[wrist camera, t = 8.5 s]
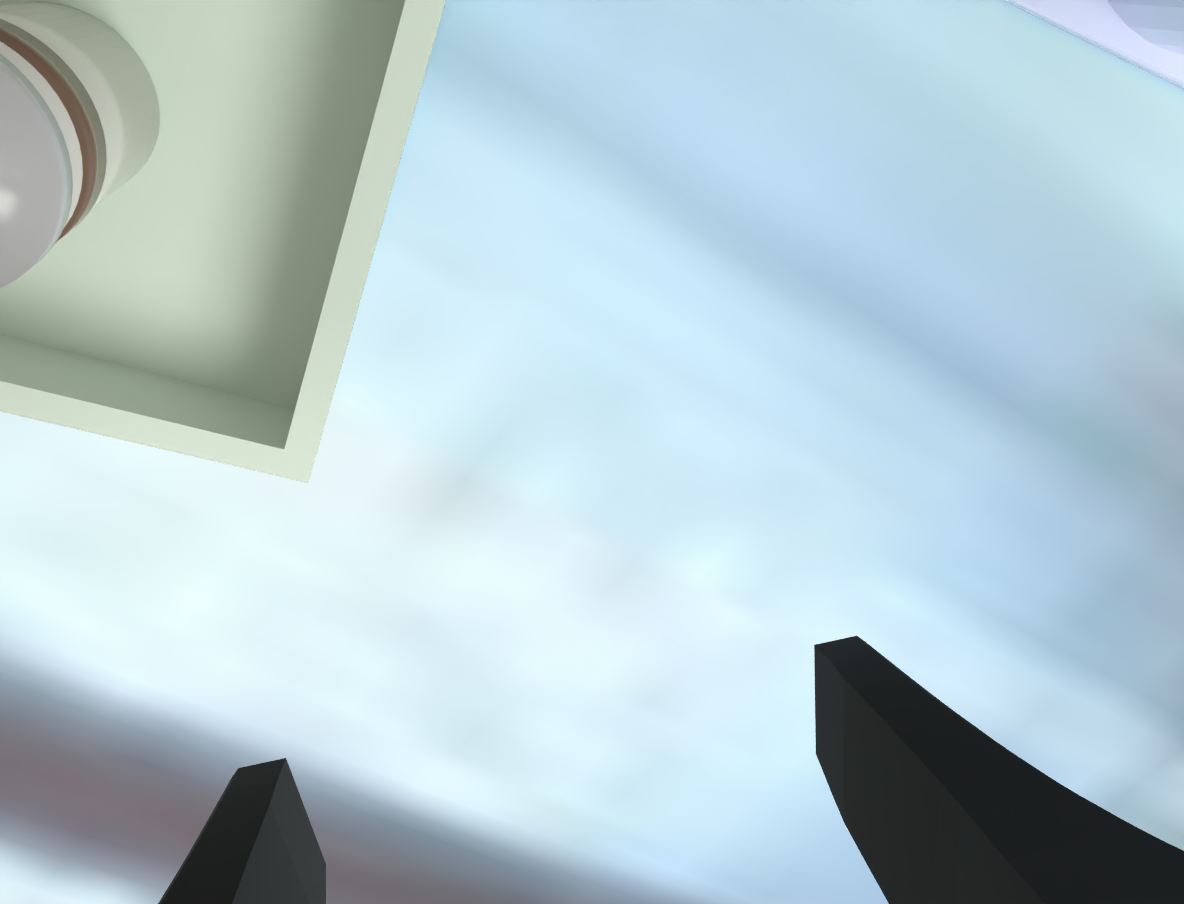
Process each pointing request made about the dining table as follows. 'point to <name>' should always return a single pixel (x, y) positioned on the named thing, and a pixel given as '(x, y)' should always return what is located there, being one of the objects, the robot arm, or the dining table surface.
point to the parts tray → (226, 231)
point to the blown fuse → (65, 125)
